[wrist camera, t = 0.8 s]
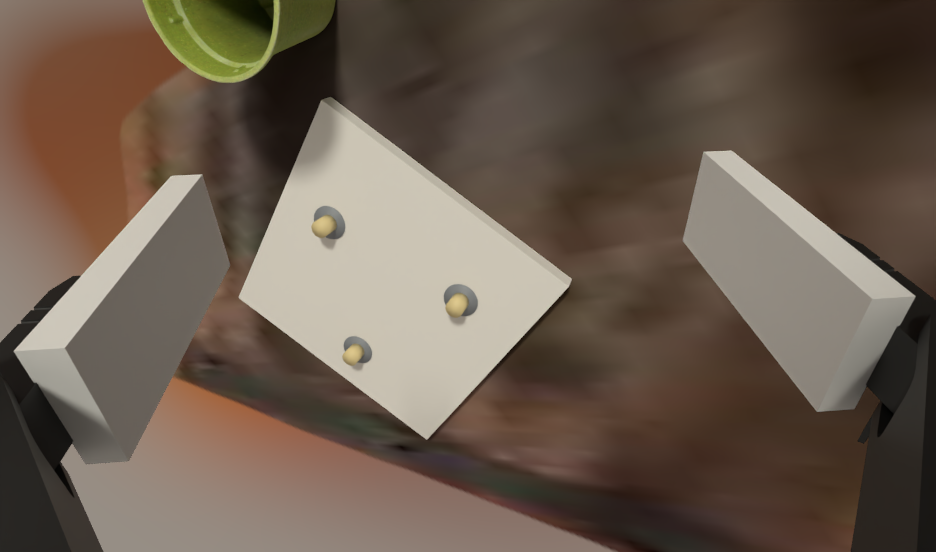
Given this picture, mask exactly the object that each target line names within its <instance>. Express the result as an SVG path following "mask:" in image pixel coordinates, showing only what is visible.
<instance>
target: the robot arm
mask: <svg viewBox="0 0 936 552" xmlns="http://www.w3.org/2000/svg"><path fill="white" fill-rule="evenodd" d="M683 242H684V243H685V244H686V246H687V247H688V248H689V249H690V251H691V252H692V253H693V254H694V256H695V257H696V258H697V260H698V261H699V262H700V263H701V265H702V266H703V267H704V268H705V270H706V271H707V272H708V274H709V275H710V276H711V277H712V279H713V280H714V281H715V283H716V284H717V285H718V286H719V288H720V289H721V290H722V291H723V293H724V294H725V295H726V297H727V298H728V299H729V300H730V302H731V303H732V304H733V305H734V307H735V308H736V309H737V311H738V312H739V313H740V314H741V316H742V317H743V318H744V320H745V321H746V322H747V323H748V325H749V326H750V327H751V328H752V330H753V331H754V332H755V334H756V335H757V336H758V337H759V339H760V340H761V341H762V342H763V344H764V345H765V346H766V348H767V349H768V350H769V351H770V353H771V354H772V355H773V357H774V358H775V359H776V360H777V362H778V363H779V364H780V365H781V367H782V368H783V369H784V371H785V372H786V373H787V374H788V376H789V377H790V378H791V379H792V381H793V382H794V383H795V385H796V386H797V387H798V388H799V390H800V391H801V392H802V393H803V395H804V396H805V397H806V399H807V400H808V401H809V402H810V404H811V405H812V406H813V408H814V409H815V410H816V411H817V412H822V411H836V410H850V409H855V407H856V405H857V403H858V402H859V400H860V398H861V396H862V394H863V392H864V390H865V389H866V387H867V386H868V387H869V389H870V390H871V391H872V392H873V393H874V394H875V395H876V396H877V397H878V398H879V399H880V400H881V401H880V403H879V404H878V406H877V408H876V409H875V411H874V413H873V415H872V416H871V418H870V420H869V422H868V423H867V425H866V427H865V429H864V430H863V432H862V434H861V436H860V437H859V439H858V442H861V443H863V444H864V443H865V441H866V440H867V439H868V437H869V440H868V446H867V453H866V459H865V465H864V472H863V478H862V484H861V490H860V497H859V503H858V509H857V516H856V522H855V528H854V535H853V541H852V547H851V552H936V300H934V299H933V298H932V297H931V296H929V295H928V294H927V293H925V292H924V291H923V290H921V289H920V288H919V287H917V286H916V285H915V284H914V283H912V282H911V281H910V280H908V279H907V278H906V277H904V276H903V275H902V274H901V273H899V272H898V271H894V268H893V267H891V266H890V265H889V264H888V263H886V262H885V261H884V260H880V257H878V256H877V255H876V254H875V253H873V252H872V251H871V250H869V249H868V248H867V247H865V246H864V245H863V244H861V243H859V242H857V241H854V240H852V239H850V238H848V237H846V236H844V235H842V234H839V233H835V232H834V231H832V230H831V229H830V228H829V227H827V226H826V225H825V224H824V223H822V222H821V221H820V220H819V219H817V218H816V217H815V216H813V215H812V214H811V213H810V212H808V211H807V210H806V209H805V208H803V207H802V206H801V205H800V204H798V203H797V202H796V201H794V200H793V199H792V198H791V197H789V196H788V195H787V194H786V193H784V192H783V191H782V190H781V189H779V188H778V187H777V186H775V185H774V184H773V183H772V182H770V181H769V180H768V179H767V178H765V177H764V176H763V175H762V174H760V173H759V172H758V171H757V170H755V169H754V168H753V167H751V166H750V165H749V164H748V163H746V162H745V161H744V160H743V159H741V158H740V157H739V156H738V155H736V154H735V153H734V152H732V151H712V152H703V157H702V161H701V165H700V169H699V174H698V178H697V182H696V186H695V191H694V195H693V199H692V204H691V208H690V212H689V216H688V221H687V225H686V229H685V233H684V238H683ZM229 266H230V263H229V260H228V257H227V253H226V250H225V247H224V244H223V240H222V237H221V234H220V231H219V227H218V224H217V221H216V218H215V214H214V211H213V208H212V205H211V201H210V198H209V195H208V192H207V188H206V185H205V182H204V179H203V176H202V175H182V176H171V177H170V178H169V179H168V180H167V181H166V183H165V184H164V185H163V186H162V187H161V188H160V189H159V190H158V191H157V193H156V194H155V195H154V196H153V197H152V198H151V199H150V200H149V201H148V203H147V204H146V205H145V206H144V207H143V208H142V209H141V210H140V211H139V212H138V214H137V215H136V216H135V217H134V218H133V219H132V220H131V221H130V222H129V224H128V225H127V226H126V227H125V228H124V229H123V230H122V231H121V232H120V234H119V235H118V236H117V237H116V238H115V239H114V240H113V241H112V243H111V244H110V245H109V246H108V247H107V248H106V249H105V250H104V251H103V252H102V254H101V255H100V256H99V257H98V258H97V259H96V260H95V261H94V262H93V264H92V265H91V266H90V267H89V268H88V269H87V270H86V271H85V272H84V274H83V275H82V276H72V277H71V278H69V279H68V280H66V281H64V282H63V283H61V284H60V285H58V286H57V287H55V288H53V289H52V290H50V291H49V292H48V293H47V294H46V295H45V296H44V297H43V298H42V299H41V300H40V301H39V302H38V303H37V305H36V306H35V307H34V310H31V311H30V312H29V313H28V314H27V315H26V316H25V317H24V318H23V320H21V324H18V325H17V326H16V327H15V328H14V329H13V330H12V331H11V332H10V333H9V334H8V335H7V336H6V337H5V338H4V339H3V340H2V341H1V343H0V552H103V550H102V548H101V545H100V543H99V541H98V539H97V537H96V534H95V532H94V530H93V528H92V525H91V523H90V521H89V519H88V516H87V514H86V512H85V510H84V507H83V505H82V503H81V501H80V499H79V496H78V494H77V492H76V490H75V487H74V485H73V483H72V481H71V478H70V476H69V474H68V472H67V471H66V469H65V468H64V466H62V463H61V462H60V461H61V460H62V458H63V456H64V455H65V453H66V452H67V450H68V449H69V447H70V445H71V444H73V445H74V447H75V448H76V450H77V451H78V453H79V454H80V456H81V458H82V459H83V461H84V462H85V464H96V463H110V462H124V461H129V460H130V458H131V456H132V454H133V452H134V450H135V448H136V446H137V444H138V442H139V440H140V439H141V437H142V435H143V433H144V431H145V429H146V427H147V425H148V423H149V421H150V419H151V417H152V415H153V413H154V411H155V410H156V408H157V406H158V404H159V402H160V400H161V398H162V396H163V393H164V392H165V390H166V388H167V386H168V384H169V382H170V380H171V379H172V377H173V375H174V373H175V371H176V369H177V367H178V365H179V363H180V361H181V359H182V357H183V355H184V353H185V352H186V350H187V348H188V346H189V344H190V342H191V340H192V338H193V336H194V334H195V332H196V330H197V328H198V326H199V324H200V323H201V321H202V319H203V317H204V315H205V313H206V311H207V309H208V307H209V305H210V303H211V301H212V299H213V297H214V295H215V294H216V292H217V290H218V288H219V286H220V284H221V282H222V280H223V278H224V276H225V274H226V272H227V270H228V268H229Z"/></svg>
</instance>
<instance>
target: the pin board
mask: <svg viewBox="0 0 936 552" xmlns="http://www.w3.org/2000/svg"><path fill="white" fill-rule="evenodd" d="M571 280H572V279H571V278H570V277H569V276H567V275H566V274H565V273H563V272H562V271H561V270H559V269H558V268H557V267H555V266H554V265H553V264H551V263H550V262H549V261H547V260H546V259H545V258H544V257H542V256H541V255H540V254H538V253H537V252H536V251H534V250H533V249H532V248H530V247H529V246H528V245H526V244H525V243H524V242H522V241H521V240H520V239H518V238H517V237H516V236H514V235H513V234H512V233H510V232H509V231H508V230H506V229H505V228H504V227H502V226H501V225H500V224H499V223H497V222H496V221H495V220H493V219H492V218H491V217H489V216H488V215H487V214H485V213H484V212H483V211H481V210H480V209H479V208H477V207H476V206H475V205H473V204H472V203H471V202H469V201H468V200H467V199H465V198H464V197H463V196H461V195H460V194H459V193H457V192H456V191H455V190H454V189H452V188H451V187H450V186H448V185H447V184H446V183H444V182H443V181H442V180H440V179H439V178H438V177H436V176H435V175H434V174H432V173H431V172H430V171H428V170H427V169H426V168H424V167H423V166H422V165H420V164H419V163H418V162H416V161H415V160H414V159H412V158H411V157H410V156H408V155H407V154H406V153H405V152H403V151H402V150H401V149H399V148H398V147H397V146H395V145H394V144H393V143H391V142H390V141H389V140H387V139H386V138H385V137H383V136H382V135H381V134H379V133H378V132H377V131H375V130H374V129H373V128H371V127H370V126H369V125H367V124H366V123H365V122H363V121H362V120H361V119H360V118H358V117H357V116H356V115H354V114H353V113H352V112H350V111H349V110H348V109H346V108H345V107H344V106H342V105H341V104H340V103H338V102H337V101H336V100H334V99H333V98H332V97H328V98H325V99H322V100H321V102H320V105H319V107H318V109H317V112H316V114H315V117H314V119H313V121H312V124H311V126H310V129H309V131H308V133H307V136H306V138H305V140H304V143H303V145H302V148H301V150H300V152H299V155H298V157H297V160H296V162H295V164H294V167H293V169H292V172H291V174H290V176H289V179H288V181H287V183H286V186H285V188H284V191H283V193H282V195H281V198H280V200H279V203H278V205H277V207H276V210H275V212H274V215H273V217H272V219H271V222H270V224H269V226H268V229H267V231H266V234H265V236H264V238H263V241H262V243H261V246H260V248H259V250H258V253H257V255H256V257H255V260H254V262H253V265H252V267H251V269H250V272H249V274H248V277H247V279H246V281H245V284H244V286H243V289H242V291H241V293H240V296H239V298H240V299H241V300H242V301H244V302H245V303H246V304H248V305H249V306H250V307H252V308H253V309H254V310H256V311H257V312H258V313H259V314H261V315H262V316H263V317H265V318H266V319H267V320H269V321H270V322H271V323H273V324H274V325H275V326H277V327H278V328H279V329H281V330H282V331H283V332H285V333H286V334H287V335H289V336H290V337H291V338H293V339H294V340H295V341H297V342H298V343H299V344H301V345H302V346H303V347H305V348H306V349H307V350H309V351H310V352H311V353H313V354H314V355H315V356H317V357H318V358H319V359H320V360H322V361H323V362H324V363H326V364H327V365H328V366H330V367H331V368H332V369H334V370H335V371H336V372H338V373H339V374H340V375H342V376H343V377H344V378H346V379H347V380H348V381H350V382H351V383H352V384H354V385H355V386H356V387H358V388H359V389H360V390H362V391H363V392H364V393H366V394H367V395H368V396H370V397H371V398H372V399H374V400H375V401H376V402H377V403H379V404H380V405H381V406H383V407H384V408H385V409H387V410H388V411H389V412H391V413H392V414H393V415H395V416H396V417H397V418H399V419H400V420H401V421H403V422H404V423H405V424H407V425H408V426H409V427H411V428H412V429H413V430H415V431H416V432H417V433H419V434H420V435H421V436H423V437H424V438H425V439H428V438H429V437H430V436H431V435H432V434H433V433H434V432H435V431H436V429H437V428H438V427H439V426H440V425H441V424H442V423H443V422H444V421H445V420H446V419H447V418H448V416H449V415H450V414H451V413H452V412H453V411H454V410H455V409H456V408H457V407H458V406H459V405H460V404H461V402H462V401H463V400H464V399H465V398H466V397H467V396H468V395H469V394H470V393H471V392H472V391H473V390H474V388H475V387H476V386H477V385H478V384H479V383H480V382H481V381H482V380H483V379H484V378H485V377H486V376H487V374H488V373H489V372H490V371H491V370H492V369H493V368H494V367H495V366H496V365H497V364H498V363H499V361H500V360H501V359H502V358H503V357H504V356H505V355H506V354H507V353H508V352H509V351H510V350H511V349H512V347H513V346H514V345H515V344H516V343H517V342H518V341H519V340H520V339H521V338H522V337H523V336H524V335H525V333H526V332H527V331H528V330H529V329H530V328H531V327H532V326H533V325H534V324H535V323H536V322H537V321H538V319H539V318H540V317H541V316H542V315H543V314H544V313H545V312H546V311H547V310H548V309H549V308H550V307H551V305H552V304H553V303H554V302H555V301H556V300H557V299H558V298H559V297H560V296H561V295H562V294H563V292H564V291H565V290H566V289H567V288H568V287H569V285H570V283H571Z"/></svg>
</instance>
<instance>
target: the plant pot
mask: <svg viewBox="0 0 936 552" xmlns="http://www.w3.org/2000/svg"><path fill="white" fill-rule="evenodd" d="M143 3H144V6H145V8H146V11H147V14H148V16H149V18H150V20H151V22H152V24H153V26H154V28H155V30H156V31H157V33H158V34H159V35H160V37H161V39H162V40H163V42H164V44H165V45H166V46H167V47H168V49H169V50H170V51H171V53H173V55H174V56H175V57H176V58H177V59H178V60H180V61H181V62H182V63H183V64H184V65H186V66H187V67H188V68H189V69H190V70H192V71H194V72H195V73H197V74H199V75H201V76H203V77H205V78H207V79H210V80H213V81H216V82H222V83H234V82H240V81H244V80H246V79H248V78H251V77H252V76H254V75H256V74H257V73H258V72H260V71H261V70H262V69H263V68H264V67H265V66H266V65H267V63H268V62H269V61H270V59H271V57H272V56H273V55H274V54H276V53H279V52H281V51H283V50H285V49H287V48H289V47H291V46H294V45H296V44H298V43H300V42H303V41H305V40H307V39H309V38H311V37H314V36H316V35H317V34H319V33H320V32H321V31H323V30H324V29H325V27H326V26H327V25H328V23H329V22H330V20H331V18H332V15H333V12H334V7H335V0H143Z"/></svg>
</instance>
